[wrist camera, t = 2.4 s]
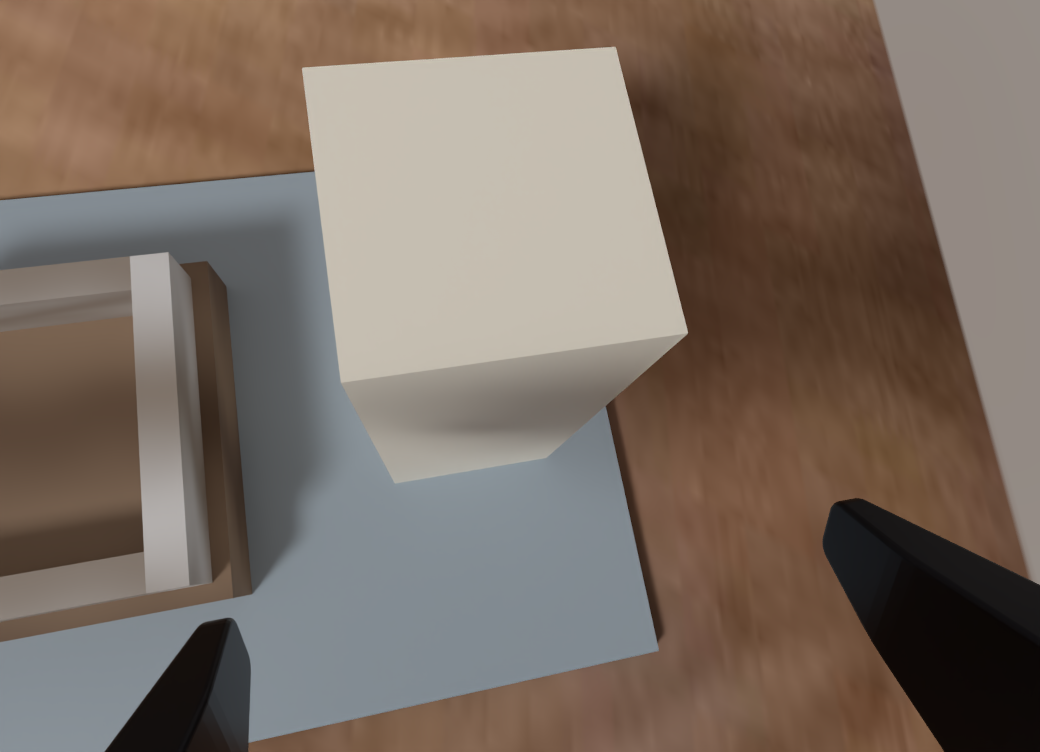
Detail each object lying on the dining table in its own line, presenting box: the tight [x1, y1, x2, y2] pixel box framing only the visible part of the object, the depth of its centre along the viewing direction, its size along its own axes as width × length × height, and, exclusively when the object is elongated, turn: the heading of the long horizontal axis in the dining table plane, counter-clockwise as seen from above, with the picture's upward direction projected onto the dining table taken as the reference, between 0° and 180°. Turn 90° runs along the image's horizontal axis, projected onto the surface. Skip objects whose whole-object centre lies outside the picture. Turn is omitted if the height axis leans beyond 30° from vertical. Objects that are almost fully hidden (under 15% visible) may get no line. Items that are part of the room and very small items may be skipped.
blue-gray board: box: [0, 172, 659, 752], centre depth 22 cm, size 18×24×1 cm
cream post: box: [302, 47, 688, 484], centre depth 16 cm, size 5×5×13 cm
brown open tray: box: [0, 252, 252, 642], centre depth 19 cm, size 10×10×4 cm
